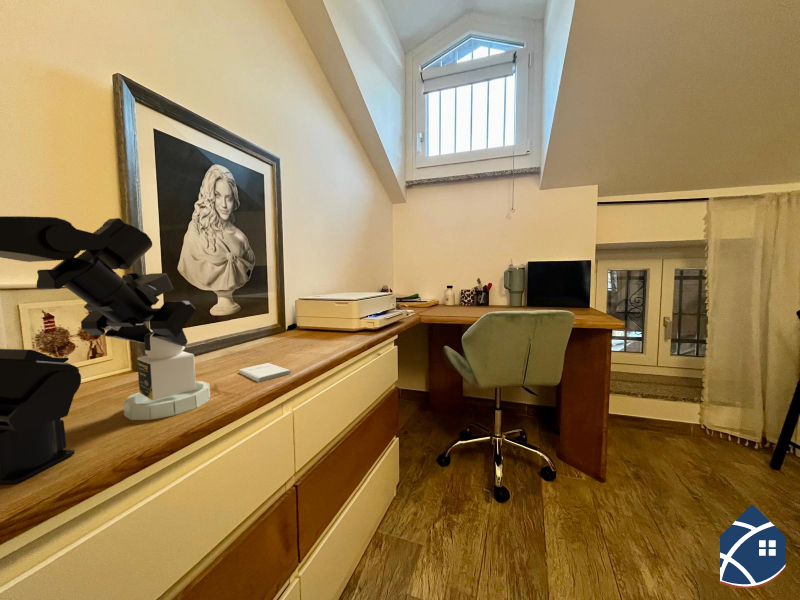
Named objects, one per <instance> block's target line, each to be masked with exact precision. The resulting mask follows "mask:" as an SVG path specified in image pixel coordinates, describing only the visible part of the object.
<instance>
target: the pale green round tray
mask: <svg viewBox="0 0 800 600" xmlns="http://www.w3.org/2000/svg"><path fill="white" fill-rule="evenodd" d="M210 386H211V385H210V383H209V382H206V381H203V380H196V389H194V390H190V391H187V392H183V393H179V394H175V395H172V396H168V397H164V398H160V399H157V400H151V399H149V398H147V397H146V396H144V395H142V394H140V392H139V391H138V392H136V393H134V394H131V395H129V396H127V398H125V400H124V401H123V402H122V403H123V405H122V406H123V415H124V417H125V418H127V419H129V420H130V421H150V420H156V419H161V418H167V417H172V416H175V415H181V414H183V413H185V412H189V411H191V410H194V409H196V408H199V407H200V406H203V405H204V404H206V403H207V402H209V400H210V398H211V387H210Z"/></svg>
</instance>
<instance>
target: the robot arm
mask: <svg viewBox="0 0 800 600" xmlns="http://www.w3.org/2000/svg"><path fill="white" fill-rule="evenodd" d="M152 247H153V241H152V240H151V238H150V236H149V235H148V234H147V233H145V232H144V231H142V230H140V229H139V228H137V227H135V226H133V225H131V224H128V223H125V221H123V220H122V219H121V218H119V217H115V218H109V219H107V220H106V221H105V222H104V223H103V224H102V225H101V226H100V227H98V228H97V229H96V230H95V231H94V232H90V231H86V230H82V229H78V228H77V227H75V226H73V223H71V222H70V221H68V220H66V219H63V218H59V217H56V216H54V217H53V216H25V215H23V216H22V215H21V216H19V215H18V216H17V215H14V216H13V215H12V216H0V258H2V259H8V260H13V261H14V260H15V261H19V262H26V263H33V262H35V263H37V262H51V261H53V262H54V261H61V262H59V263H58V264H56V265H55V266H54V267H53V268H51V269H38V270H37V273H36V274H37V279H36V288H37V289H38V290H59V289H62V288H63V287H65V288H66V289H68V290H69V291H70V292H72V293H73V294H75V295H76V297H78V298H79V299H80V300H82V301H83V302H86V304H85V305H83V308H84V309H85V310H87V311H89V313H88V314H87V315H86V316H85V317H84V318H83V319H82V320H81V321H80V324H81V330H82V331H85V332H86V333H87V334H89V335H90V336H103V335H104V337H107V338H114V339H119V340H123V341H129V342H135V343H139V344H144V345H145V343H144V336H145V335H146V334H148V333H150V332H155V333H154V334H153V335H152V337H155V338H158V339H161V340H165V341H168V342H171V343H174V344H177V345H180V346H185V347H186V346H187V343H188V342H189V341H188V339H187V336H186V334H185V332H184V329H183V328H184V327H185V325H186V324H187V322H188V321H189V320H190V319H191V317H192V316H193V315H194V314H195V312H196V310H197V309H196V307H195V306H194V305H193V303H191V302H190V300H171V301H165V302H164V303H163V304H162V305H161V306H160V307H157V308H155V307H154V308H153V306H156V305H157V303H158V302H159V301H160V299H159V298H158V297H159V296H161V295H163V294H165V293H167V292H171V291H172V290H174V286H173V284H172V282H171V280H170V278H169V276H168V274H167V272H163V273H162V272H161V273H148V274H139V273H138V272H128V273H125V274H123V275H122V276H120V275H119V274H118V273H117V272H116V271H115V270H123V271H124V270H129V269H130V268H132V266H133V265H135V264H136V262H137V261H139V260H140V259H141V258H142V257H143V256H144V255H145V254H146V253H147V252H148V251H150V249H151V248H152ZM81 251H82V253H81V254H80V252H81ZM77 255H78V256H77ZM147 322H149V328H148V326H146V325H145V324H146V323H147ZM68 361H69V357H61V356H60V357H59V356H58V357H53V356H50V355H47V354H45V353H42V352H40V351H37V350H34V349H30V348H29V349H26V348H25V349H22V348H21V349H19V348H0V484H1V485H2V484H7V485H8V484H9V485H10V484H12V485H13V484H18V483H20V482H22V481H24V480H26V479H28V478H30V477H32V476H33V475H36V474H37V473H40V472H41V471H44V470H45V469H47V468H50V467H52V466H53V465H56V464H57V463H60V462H61V461H63V460H65V459H67V458H69V457H71V456H72V455H74V454H75V453H76V451H75V449H66V448H67V438H66V427H65V420H63V418H65V417H67V416H68V415H69V412H70V410H71V407H72V403H73V400H74V397H75V394H76V393H77V391H78V390H79V388H80V385H81V383H82V375H81V373H80V369H79V368H78V367H77V366H76V365H73V364H71V363H68Z"/></svg>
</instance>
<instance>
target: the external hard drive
mask: <svg viewBox="0 0 800 600" xmlns="http://www.w3.org/2000/svg"><path fill="white" fill-rule="evenodd" d="M238 373H239V374H241V375H242V376H245V377H247V378H248V379H250V380H253V381H255V382H257V383H262V382H265V381H269V379H270V380H274V379H277V378H280V376H281V377H284V376H283V375H285V376H288V375H287V374H289V375H291V374H292V371H291V370H290V369H287V368H284V367H281V366H280V365H279V366H278V365H275V364H272V363H269V362H266V363H263V364H257V365H253V366H247V367H243V368H240V369H238ZM290 373H291V374H290ZM276 377H277V378H276Z"/></svg>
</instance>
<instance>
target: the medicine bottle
mask: <svg viewBox="0 0 800 600" xmlns="http://www.w3.org/2000/svg"><path fill="white" fill-rule="evenodd" d="M154 333H155V332H153V331H151V332H150V333H148V334H146V335H145V336H144V343H145V344H144V343H143V344H144V353H145V355H142V356H139V357H137V359H136V361H137V363H136V364H137V376H138V387H139V388H138V389H139V390H138V392H140V394H142V395H144V396H146V397H147V398H149V399H151V400H157V399H160V398H164V397H168V396H172V395H175V394H179V393H183V392H187V391H190V390H194V389H196V381H197V380H196V379H197V378H196V368H195V367H196V366H195V365H196V364H195V363H196V362H195V354H193V353H190V352H187V351H184V350H185V348H186V345H185V346H180V345H177V344H174V343H171V342H168V341H165V340H161V339H158V338H155V337H152V335H153V334H154Z"/></svg>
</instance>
